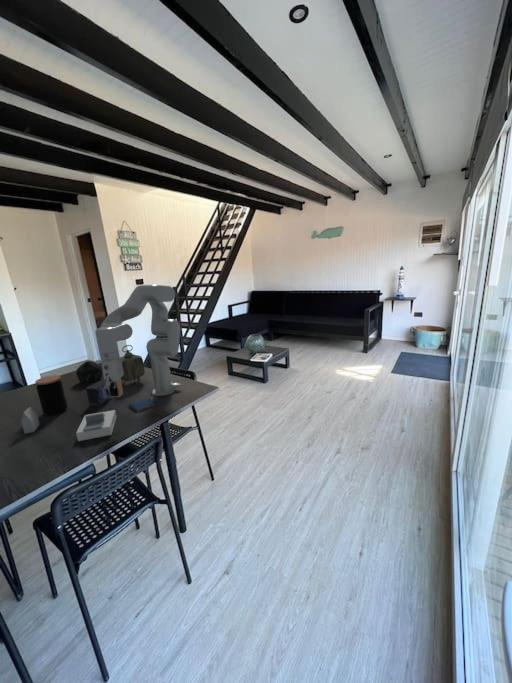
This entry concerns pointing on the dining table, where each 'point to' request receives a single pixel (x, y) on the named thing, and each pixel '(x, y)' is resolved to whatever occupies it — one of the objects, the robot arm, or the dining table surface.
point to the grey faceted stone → (30, 420)
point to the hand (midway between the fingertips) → (116, 393)
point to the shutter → (94, 422)
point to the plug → (118, 388)
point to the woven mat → (142, 404)
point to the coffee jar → (51, 395)
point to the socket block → (104, 431)
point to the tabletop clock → (132, 366)
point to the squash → (89, 372)
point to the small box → (98, 394)
